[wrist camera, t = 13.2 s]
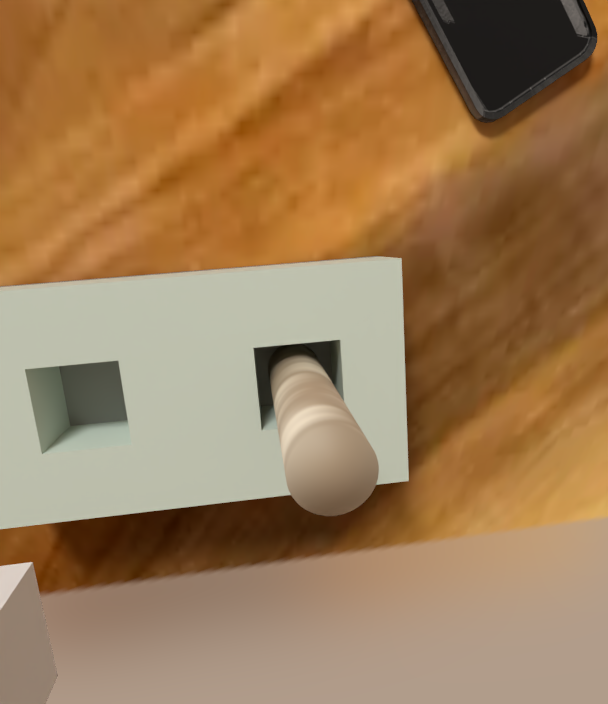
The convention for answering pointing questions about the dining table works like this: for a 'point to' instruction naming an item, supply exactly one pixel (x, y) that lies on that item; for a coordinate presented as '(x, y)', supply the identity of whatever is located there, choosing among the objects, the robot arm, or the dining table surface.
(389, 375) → the hole block
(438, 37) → the phone
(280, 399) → the birch pin
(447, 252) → the dining table surface
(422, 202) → the dining table surface
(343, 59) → the dining table surface
